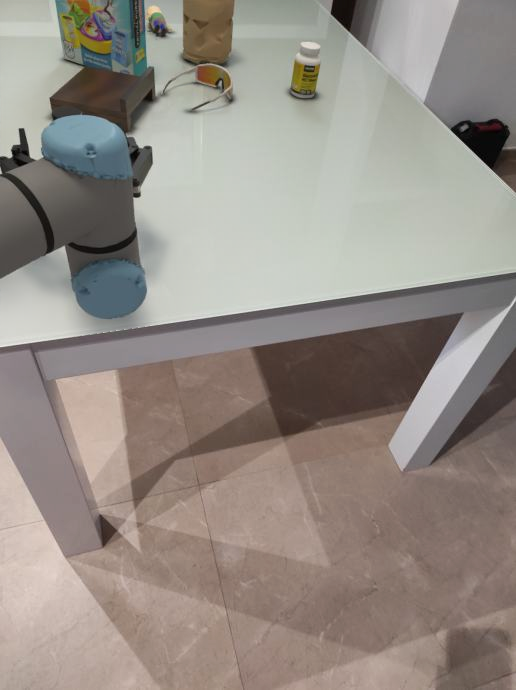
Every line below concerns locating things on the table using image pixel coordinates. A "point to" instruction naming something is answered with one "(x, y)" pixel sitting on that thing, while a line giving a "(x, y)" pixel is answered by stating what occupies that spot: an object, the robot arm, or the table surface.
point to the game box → (104, 34)
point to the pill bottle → (306, 70)
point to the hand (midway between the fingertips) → (72, 134)
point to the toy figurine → (157, 20)
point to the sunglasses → (209, 80)
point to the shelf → (106, 93)
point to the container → (207, 30)
